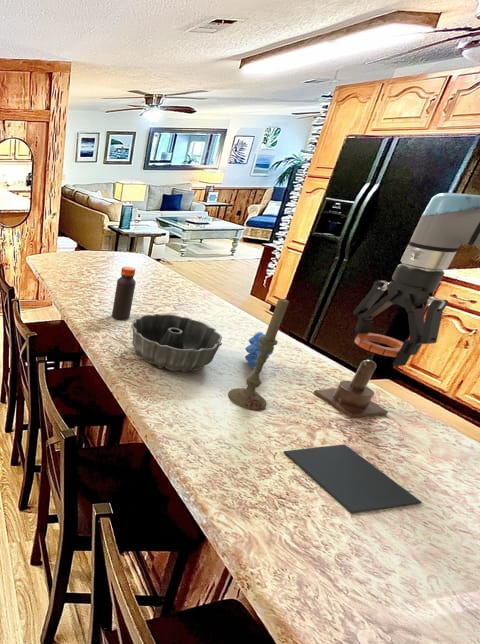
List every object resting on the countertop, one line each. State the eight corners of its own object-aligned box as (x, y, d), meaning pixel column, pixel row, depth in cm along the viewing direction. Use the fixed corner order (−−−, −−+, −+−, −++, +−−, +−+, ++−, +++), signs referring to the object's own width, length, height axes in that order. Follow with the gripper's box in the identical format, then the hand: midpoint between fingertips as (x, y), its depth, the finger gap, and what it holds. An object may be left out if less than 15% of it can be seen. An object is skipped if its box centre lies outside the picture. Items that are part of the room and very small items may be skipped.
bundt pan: (109, 348, 130) (114, 321, 126) (164, 333, 141) (170, 307, 137) (173, 389, 109) (181, 358, 105) (232, 367, 120) (241, 339, 116)
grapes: (274, 378, 115) (288, 343, 109) (249, 375, 116) (261, 340, 111) (260, 359, 125) (272, 326, 120) (237, 356, 126) (248, 323, 121)
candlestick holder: (233, 407, 102) (270, 302, 89) (223, 387, 110) (256, 289, 97) (271, 413, 100) (315, 306, 87) (259, 393, 108) (298, 292, 95)
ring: (417, 356, 91) (421, 350, 90) (383, 358, 90) (386, 352, 89) (376, 337, 100) (379, 331, 99) (344, 339, 98) (347, 333, 98)
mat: (420, 503, 76) (422, 501, 75) (351, 513, 73) (352, 511, 73) (343, 445, 90) (344, 444, 90) (283, 452, 87) (284, 450, 87)
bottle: (130, 321, 150) (139, 271, 141) (112, 319, 150) (120, 270, 142) (128, 314, 156) (136, 266, 147) (110, 312, 157) (118, 265, 148)
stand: (386, 414, 101) (412, 370, 95) (350, 418, 99) (374, 373, 93) (346, 390, 110) (367, 348, 104) (313, 392, 109) (332, 351, 103)
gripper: (358, 253, 95) (323, 334, 105) (469, 284, 75) (413, 379, 85) (384, 253, 96) (347, 333, 106) (500, 282, 76) (441, 377, 86)
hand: (376, 353), depth 96 cm, fingers closed on ring, 10 cm apart
